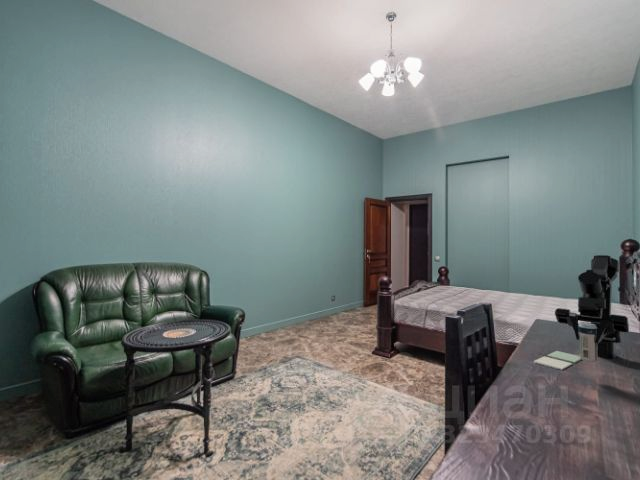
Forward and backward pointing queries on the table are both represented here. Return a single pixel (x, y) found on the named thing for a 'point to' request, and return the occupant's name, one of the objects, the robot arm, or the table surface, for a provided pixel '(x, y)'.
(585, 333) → the cream labeled canister
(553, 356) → the sage coaster
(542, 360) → the cream coaster
